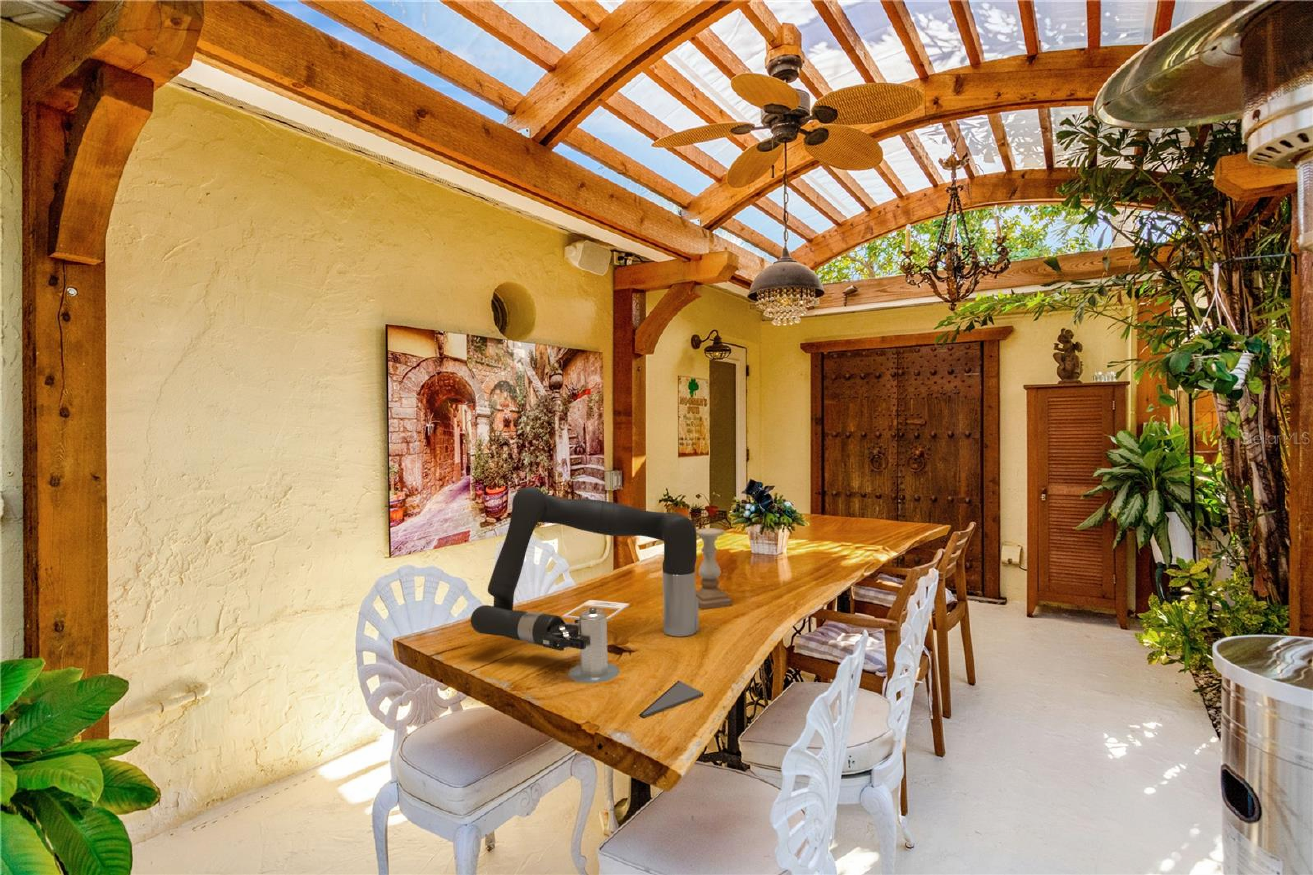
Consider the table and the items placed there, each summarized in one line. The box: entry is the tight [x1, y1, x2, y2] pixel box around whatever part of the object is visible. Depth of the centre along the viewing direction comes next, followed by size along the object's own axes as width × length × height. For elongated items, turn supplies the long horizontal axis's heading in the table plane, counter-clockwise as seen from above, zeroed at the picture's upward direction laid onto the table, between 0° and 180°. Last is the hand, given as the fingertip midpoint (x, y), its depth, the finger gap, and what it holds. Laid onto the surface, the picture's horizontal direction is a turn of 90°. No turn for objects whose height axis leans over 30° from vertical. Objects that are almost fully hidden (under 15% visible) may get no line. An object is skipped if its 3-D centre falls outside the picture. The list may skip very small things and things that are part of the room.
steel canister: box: [578, 607, 609, 678], centre depth 143 cm, size 6×6×15 cm
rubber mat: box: [638, 680, 704, 719], centre depth 134 cm, size 16×16×1 cm
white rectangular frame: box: [562, 599, 631, 622], centre depth 194 cm, size 15×1×18 cm
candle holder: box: [695, 527, 733, 610], centre depth 200 cm, size 11×11×24 cm
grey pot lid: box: [567, 662, 621, 684], centre depth 143 cm, size 12×12×3 cm
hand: (595, 638), depth 143 cm, fingers open, 8 cm apart
